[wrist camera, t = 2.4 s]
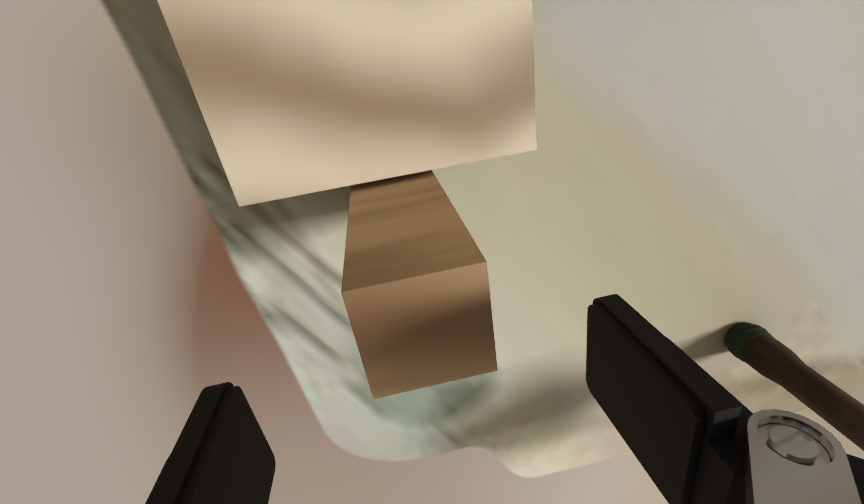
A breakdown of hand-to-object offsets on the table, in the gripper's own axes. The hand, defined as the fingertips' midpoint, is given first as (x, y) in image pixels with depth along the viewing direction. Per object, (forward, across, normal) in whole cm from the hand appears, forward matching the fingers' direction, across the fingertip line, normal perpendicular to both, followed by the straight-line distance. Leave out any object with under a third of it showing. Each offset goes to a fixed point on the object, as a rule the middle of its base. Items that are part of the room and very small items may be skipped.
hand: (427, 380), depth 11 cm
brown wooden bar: (+19, 0, -1) cm, 19 cm away
